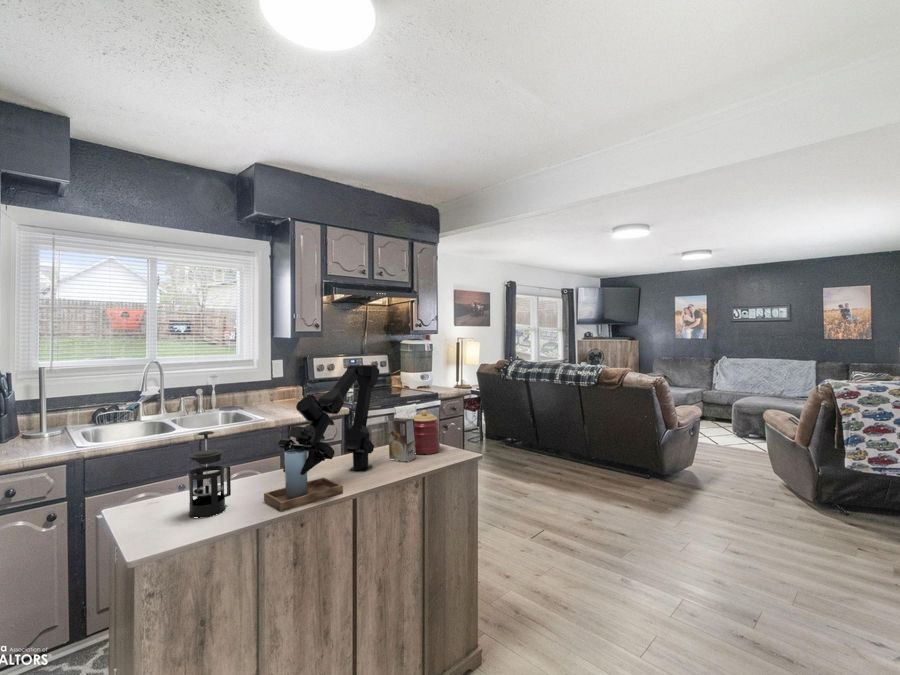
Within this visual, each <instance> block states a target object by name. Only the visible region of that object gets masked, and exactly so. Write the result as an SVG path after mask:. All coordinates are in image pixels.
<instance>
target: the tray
mask: <svg viewBox="0 0 900 675" xmlns="http://www.w3.org/2000/svg"><path fill="white" fill-rule="evenodd" d="M307 484H308V493H307V494H306V495H304V496H301V497H295V498H290V497H286V490H285V487H283V488H278V489H275V490H271V491H267V492H264V493H263V501H265V502H264V503H266V504H267V503H268V505H269V506H271V507H273V508H275V509H276V510H277V511H279V512H282V513H283V512H286V511H289V510H292V509H296V508H298V507H301V506H305V505H309V504H312V503H315V502H319V501H322V500H325V499H329V498H332V497H335V496H338V495H341V494H343V493H344V486H343V484H340V483H338V482H335V481H333V480H330V479H328V478H326V477H321V478H316V479H313V480H309V481H308V480H307Z"/></svg>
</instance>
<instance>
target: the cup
mask: <svg viewBox="0 0 900 675" xmlns="http://www.w3.org/2000/svg"><path fill="white" fill-rule="evenodd" d="M307 458H308V455H307V450H306V449H292V450H288V451H286V452H284V463H285V473H284V479H285V480H284V482H285V483H284V485H285V487H284V488H285V490H286V497H290V498H295V497H301V496H304V495H306V494H307V493H308V484H307V482H308V472H307V473H305V474H304V475H301V471H302V468H303V466H304V464H305V462H306V460H307Z"/></svg>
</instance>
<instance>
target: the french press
mask: <svg viewBox="0 0 900 675" xmlns="http://www.w3.org/2000/svg"><path fill="white" fill-rule="evenodd" d="M214 433H215V432H214V431H211V430H210V431H209V430H207V431H201V432H198V433H197V435H198V436H203V439H204V440H205V442H204V445H205V449H204V450H198V451H195V452H192V453H189V454H188V455H187V456H188V458H189V460H190V461H191V462H194V461H196V462H197V463H198V464H199V465H205V466H201V467H197V468H194V469H192V470H190V471H189V472H188V481H189V482H188V483H189V484H188V485H189V486H188V487H189V490H188V491H189V503H188V504H189V505H188V506H189V512H188V516H189V517H190V516H191V517H198V518H197V519H201V518H200V517H206V518H210V516H211V517H214V516H213V515H215V516H217V515H216V514H218V515H220V514H222V513H224V512H225V511H226V510H225V509H227V507H226V499H225V498H227V497H230V496H232V495H231V494H232V489H231V466H230V465H208V464H213V463H217V462H221V461H222V460H223V454H224V452H225V450H224V449H217V448H216V449H208V443H207V442H208V438H209V435H212V434H214ZM225 469H226V493H225ZM209 471H215V472H211V473H208V472H209ZM204 472H205V474H204ZM219 476H220V477H219ZM218 477H219V478H220V482H219V483H220V484H218ZM209 479H210V484H208V483H209ZM194 480H195V481H196V488H194V484H193V482H194ZM204 480H206V481H205V483H206V485H204ZM219 493H220V494H219ZM194 497H195V499H194ZM224 510H225V511H224ZM223 511H224V512H223ZM221 512H222V513H221ZM219 513H220V514H219ZM191 517H190V518H191Z"/></svg>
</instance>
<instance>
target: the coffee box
mask: <svg viewBox="0 0 900 675" xmlns="http://www.w3.org/2000/svg"><path fill="white" fill-rule="evenodd" d="M387 422H388V425H387V427H388V454H389V456H388V457H389V460H390V459H394V460H400V461H399V462H402V461H409V462H411V461H413V460H412V459H414V458H416V454H415V424H414V419H411V418H408V417H407V418H406V417H395V418H391V419H389V420H388V421H387ZM394 460H393V461H394ZM410 460H411V461H410ZM414 460H415V459H414Z"/></svg>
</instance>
